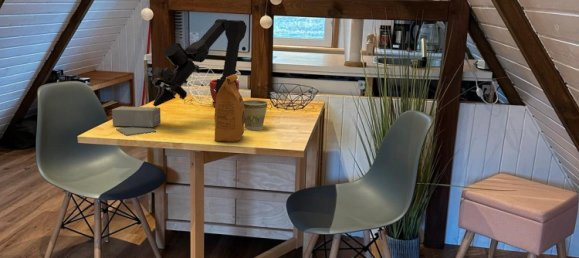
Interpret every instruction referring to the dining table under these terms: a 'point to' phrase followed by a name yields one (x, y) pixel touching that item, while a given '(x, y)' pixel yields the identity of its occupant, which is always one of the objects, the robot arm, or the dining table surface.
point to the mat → (135, 130)
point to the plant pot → (212, 88)
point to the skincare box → (136, 116)
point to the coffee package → (229, 112)
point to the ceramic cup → (254, 114)
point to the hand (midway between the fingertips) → (154, 105)
